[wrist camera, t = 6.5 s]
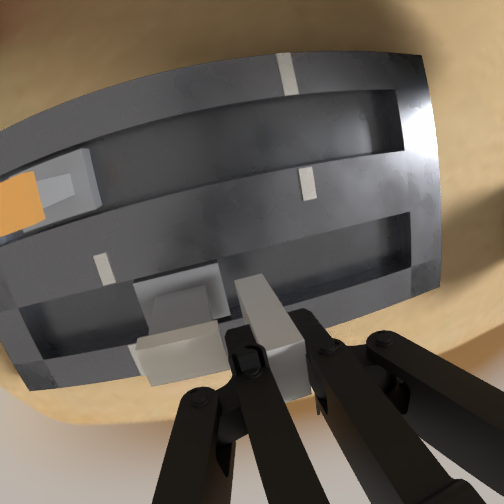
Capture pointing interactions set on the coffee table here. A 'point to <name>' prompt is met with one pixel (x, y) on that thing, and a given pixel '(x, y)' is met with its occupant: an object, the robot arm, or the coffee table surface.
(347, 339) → the coffee table surface
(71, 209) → the orange fader
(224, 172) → the console board
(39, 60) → the coffee table surface
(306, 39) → the coffee table surface
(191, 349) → the cream fader
